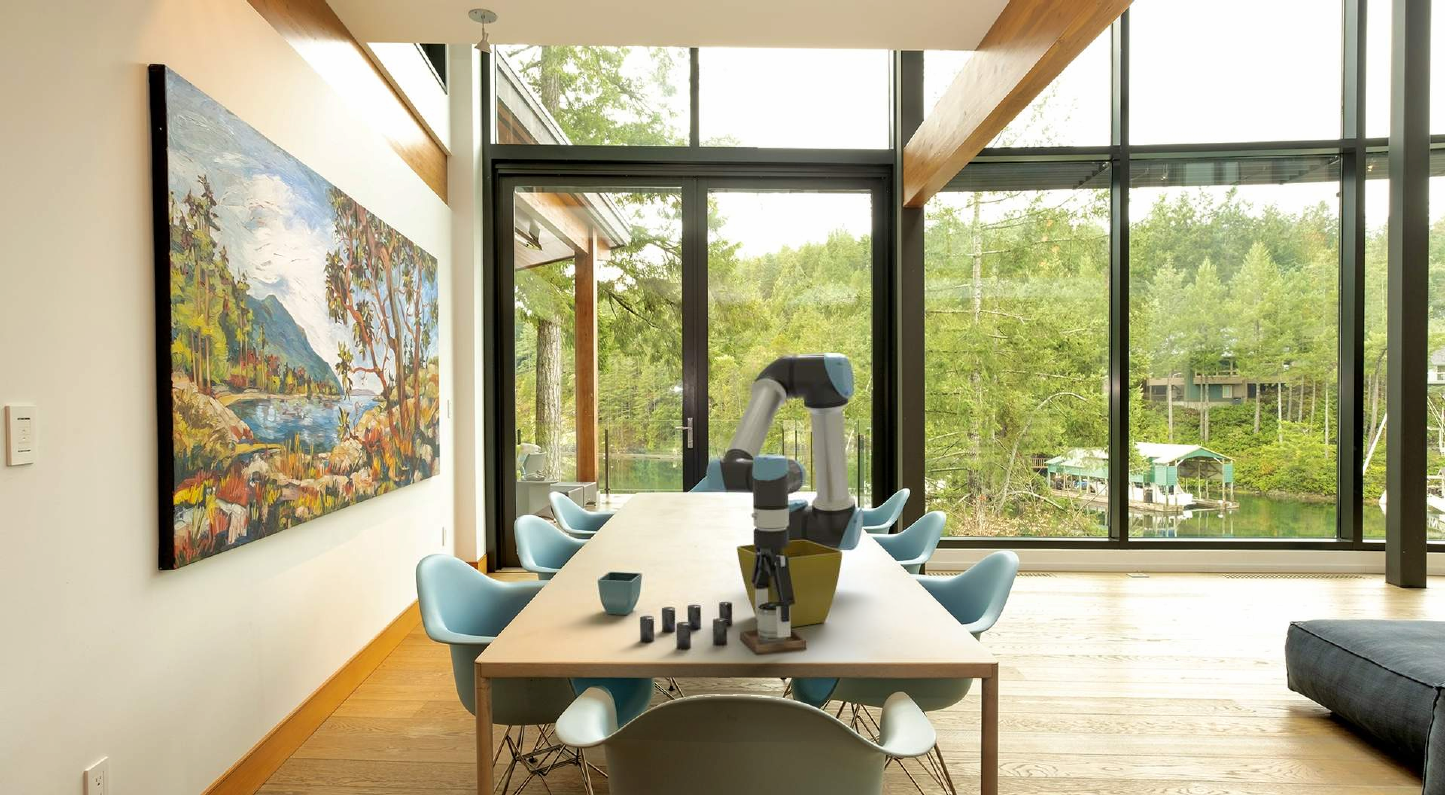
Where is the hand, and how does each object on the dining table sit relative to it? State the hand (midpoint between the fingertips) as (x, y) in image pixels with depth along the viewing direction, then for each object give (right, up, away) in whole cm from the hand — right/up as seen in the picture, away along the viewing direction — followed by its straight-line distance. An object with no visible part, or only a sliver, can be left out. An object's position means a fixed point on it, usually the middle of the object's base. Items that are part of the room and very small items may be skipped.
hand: (772, 627), depth 168 cm
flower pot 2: (+5, -4, +18) cm, 19 cm away
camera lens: (0, -3, 0) cm, 3 cm away
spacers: (-17, -4, +6) cm, 19 cm away
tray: (0, -4, 0) cm, 4 cm away
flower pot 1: (-36, -4, +26) cm, 44 cm away
